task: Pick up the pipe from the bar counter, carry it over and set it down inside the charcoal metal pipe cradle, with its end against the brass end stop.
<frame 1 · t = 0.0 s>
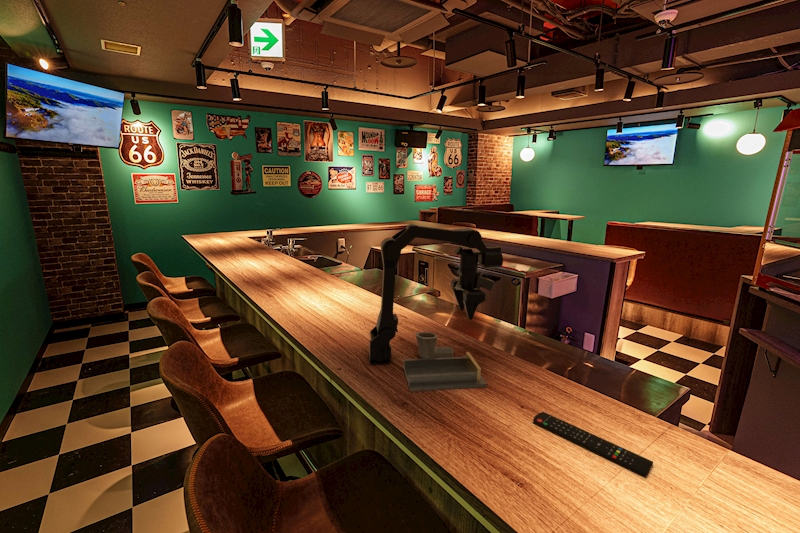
hand: (466, 314, 122), 15 cm above the bar counter, tool pointing down, fingers open, 9 cm apart
pipe: (433, 358, 124), on the bar counter
pipe cradle: (442, 376, 111), on the bar counter
remote control: (586, 444, 84), on the bar counter
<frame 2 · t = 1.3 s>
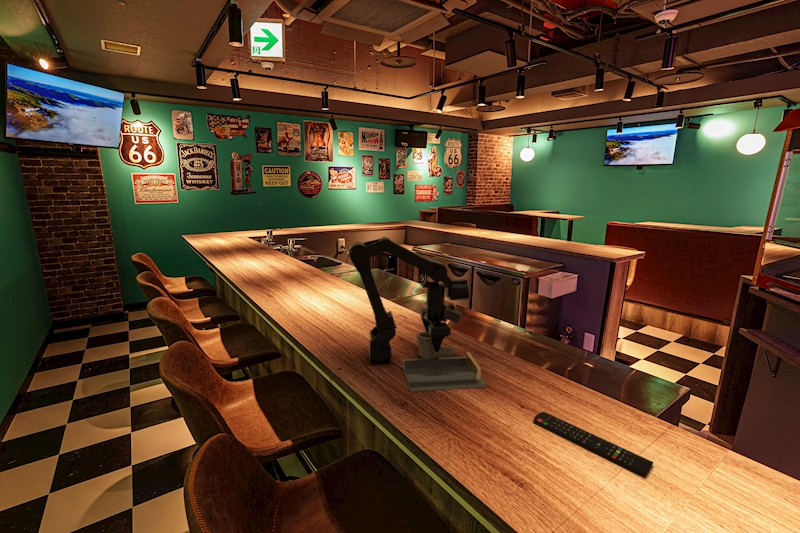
hand: (433, 345, 123), 4 cm above the bar counter, tool pointing down, fingers open, 9 cm apart
nothing on the bar counter moved.
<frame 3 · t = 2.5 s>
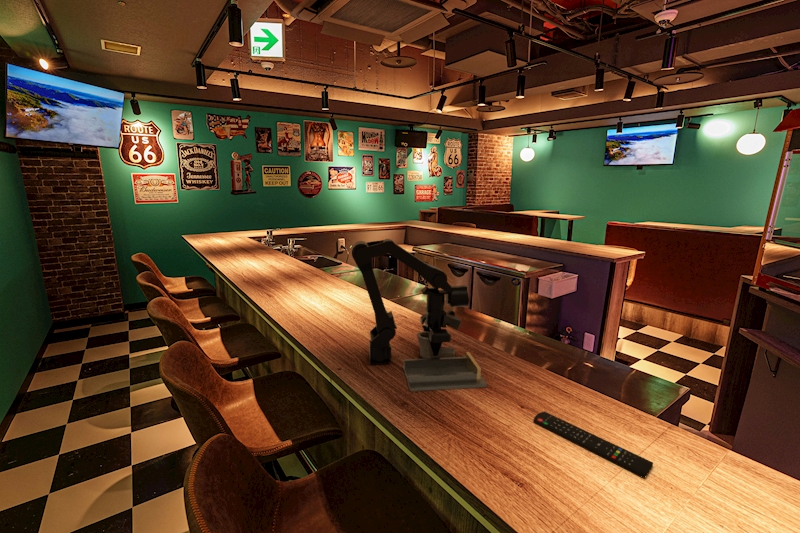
hand: (433, 351, 123), 2 cm above the bar counter, tool pointing down, fingers closed on pipe, 6 cm apart
pipe: (435, 358, 124), on the bar counter, touching gripper
everything else where it was.
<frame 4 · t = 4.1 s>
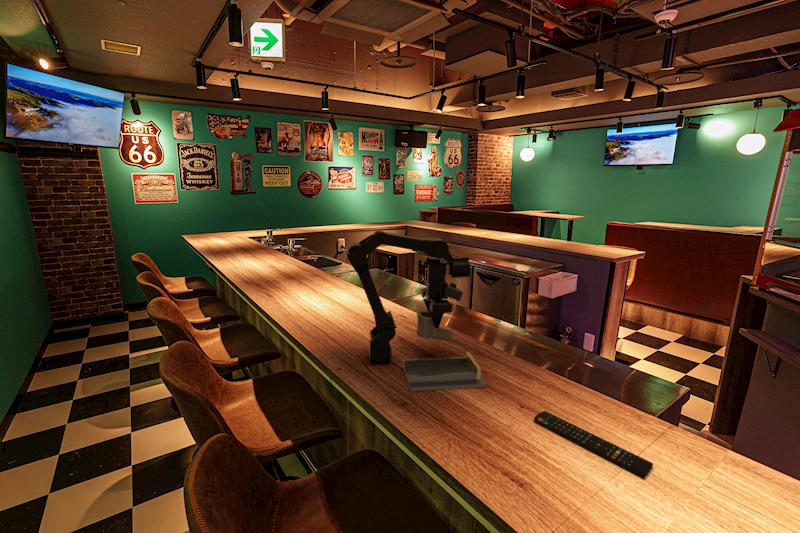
hand: (434, 324, 121), 12 cm above the bar counter, tool pointing down, fingers closed on pipe, 5 cm apart
pipe: (431, 338, 123), point 7 cm above the bar counter, touching gripper
everything else where it was.
when the fingers open (7 cm above the bar counter, at t = 6.0 s): pipe drops 1 cm, resting on pipe cradle.
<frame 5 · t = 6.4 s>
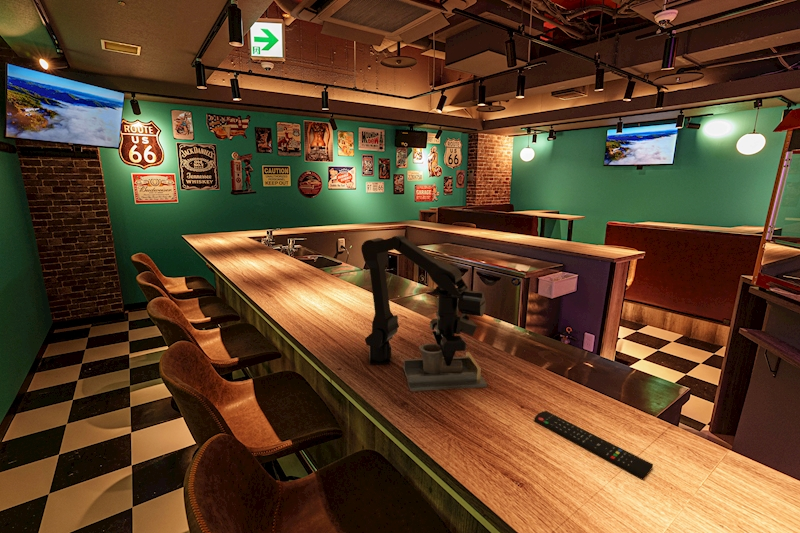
hand: (445, 360, 110), 5 cm above the bar counter, tool pointing down, fingers open, 5 cm apart
pipe: (440, 372, 112), point 1 cm above the bar counter, touching gripper, pipe cradle
everything else where it was.
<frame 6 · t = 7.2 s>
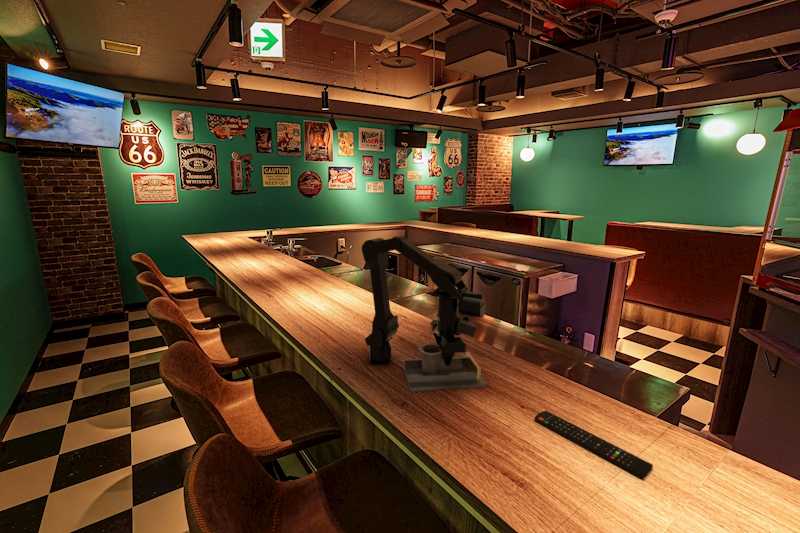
hand: (445, 362, 110), 5 cm above the bar counter, tool pointing down, fingers closed on pipe, 4 cm apart
pipe: (438, 371, 112), point 1 cm above the bar counter, touching gripper, pipe cradle
everything else where it was.
when the fingers open (5 cm above the bar counter, at t = 7.2 s): pipe stays where it is, resting on pipe cradle.
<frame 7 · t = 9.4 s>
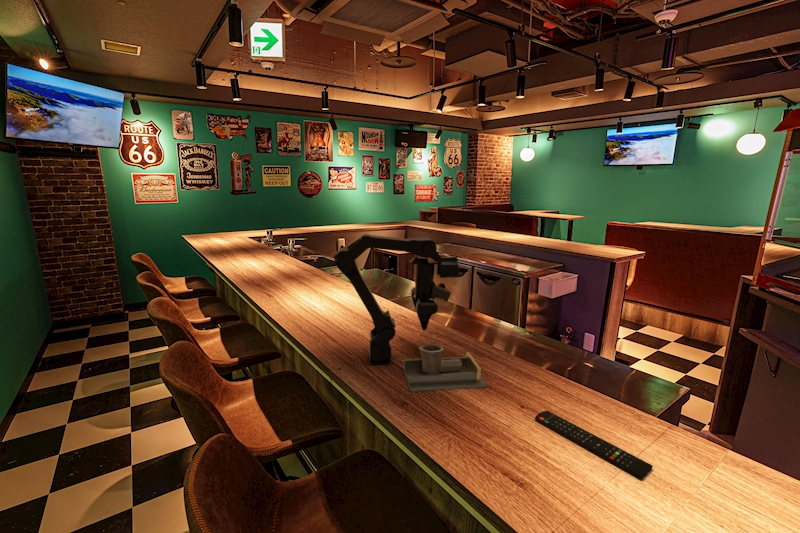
hand: (422, 324, 121), 12 cm above the bar counter, tool pointing down, fingers open, 9 cm apart
pipe: (439, 372, 112), point 1 cm above the bar counter, touching pipe cradle
everything else where it was.
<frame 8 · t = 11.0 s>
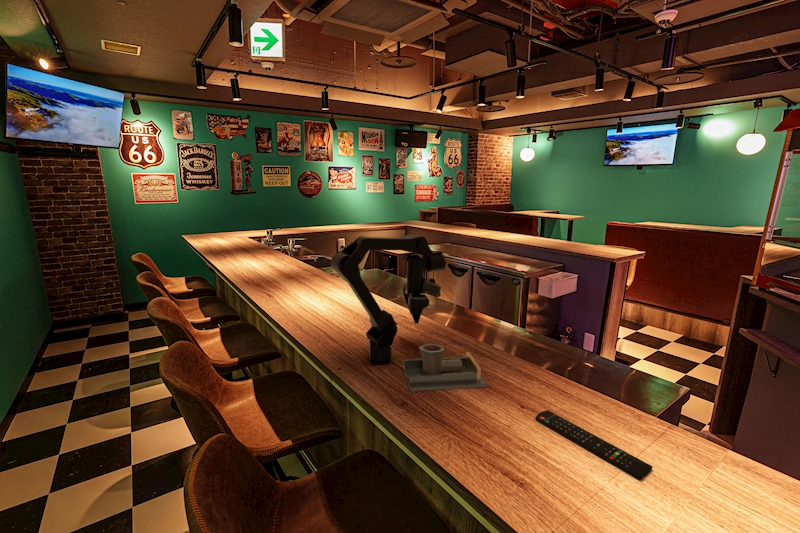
hand: (414, 318, 125), 12 cm above the bar counter, tool pointing down, fingers open, 9 cm apart
nothing on the bar counter moved.
at the end: pipe 1.4 cm off-centre on the pipe cradle, point 0.8 cm above the pipe cradle's base; the gripper is holding nothing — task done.
